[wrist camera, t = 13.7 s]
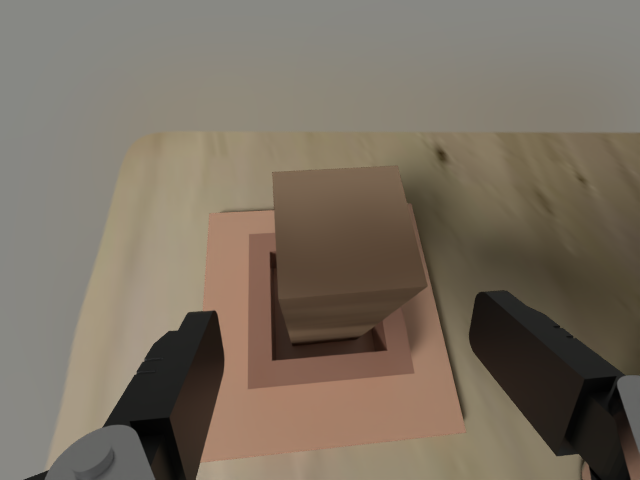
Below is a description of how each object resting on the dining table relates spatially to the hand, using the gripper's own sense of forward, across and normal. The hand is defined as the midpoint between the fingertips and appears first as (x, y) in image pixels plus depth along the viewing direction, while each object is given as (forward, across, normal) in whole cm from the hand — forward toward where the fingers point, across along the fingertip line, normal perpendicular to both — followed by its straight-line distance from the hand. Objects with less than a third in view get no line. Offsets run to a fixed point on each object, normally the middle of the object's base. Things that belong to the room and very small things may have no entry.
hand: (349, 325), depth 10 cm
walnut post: (+9, 0, +5) cm, 10 cm away
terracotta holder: (+10, 0, +6) cm, 11 cm away
